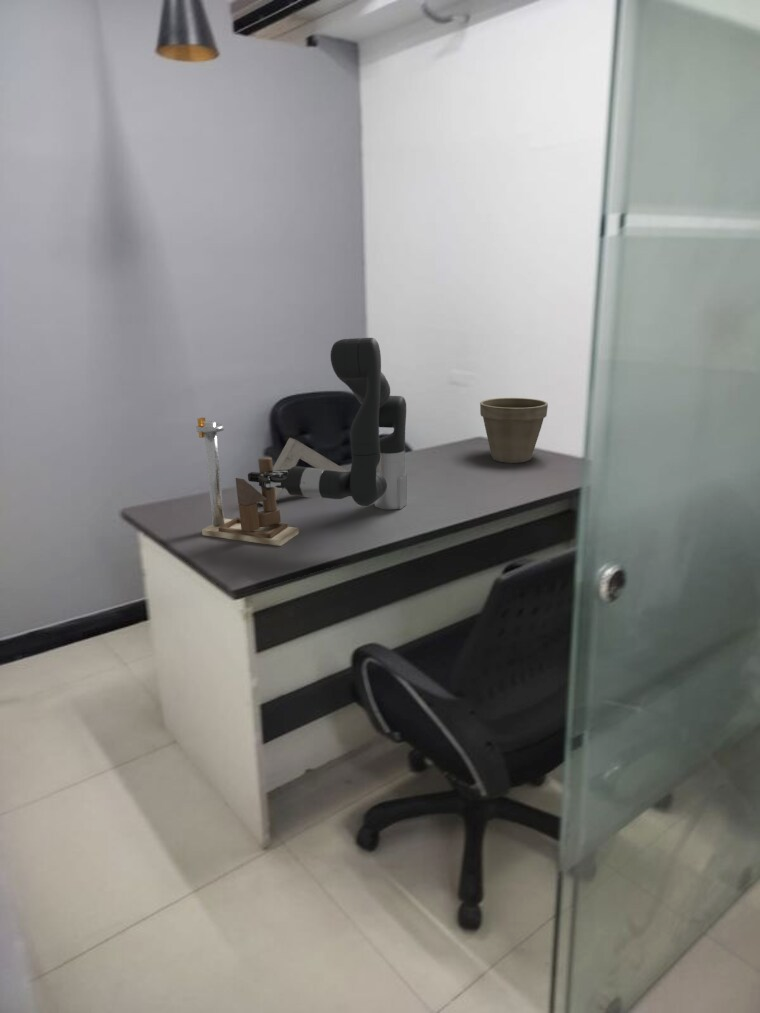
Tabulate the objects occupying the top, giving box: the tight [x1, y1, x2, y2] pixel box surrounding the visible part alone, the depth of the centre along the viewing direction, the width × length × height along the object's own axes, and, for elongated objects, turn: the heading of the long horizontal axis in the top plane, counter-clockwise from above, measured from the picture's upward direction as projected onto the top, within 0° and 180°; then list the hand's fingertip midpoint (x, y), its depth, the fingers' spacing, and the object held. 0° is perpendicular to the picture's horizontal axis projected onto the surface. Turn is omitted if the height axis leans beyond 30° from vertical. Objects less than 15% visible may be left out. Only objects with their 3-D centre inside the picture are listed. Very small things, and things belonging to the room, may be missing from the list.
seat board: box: [201, 517, 300, 547], centre depth 184 cm, size 24×10×2 cm, turn 69°
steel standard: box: [196, 417, 225, 527], centre depth 183 cm, size 7×7×31 cm
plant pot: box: [479, 397, 549, 464], centre depth 257 cm, size 25×25×22 cm
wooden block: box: [235, 456, 282, 532], centre depth 180 cm, size 4×11×18 cm, turn 138°
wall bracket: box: [258, 437, 349, 506], centre depth 218 cm, size 22×4×30 cm
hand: (249, 476), depth 179 cm, fingers closed
